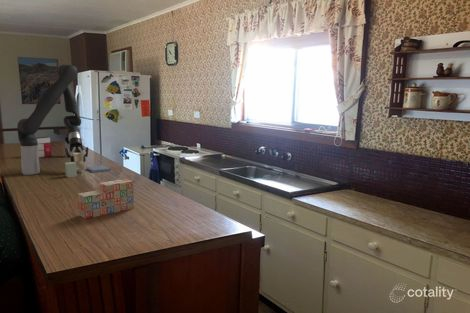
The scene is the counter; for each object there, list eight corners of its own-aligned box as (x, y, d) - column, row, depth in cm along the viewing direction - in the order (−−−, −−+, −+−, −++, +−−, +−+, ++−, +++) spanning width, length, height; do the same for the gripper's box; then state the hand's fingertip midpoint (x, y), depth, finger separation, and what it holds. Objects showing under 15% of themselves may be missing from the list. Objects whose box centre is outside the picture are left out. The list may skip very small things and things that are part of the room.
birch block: (75, 170, 231) (74, 154, 229) (72, 168, 235) (72, 152, 233) (83, 169, 234) (83, 153, 232) (81, 168, 238) (80, 152, 236)
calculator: (37, 158, 283) (36, 138, 281) (35, 157, 286) (33, 137, 284) (52, 156, 292) (50, 137, 290) (49, 155, 295) (48, 136, 292)
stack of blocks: (85, 219, 149) (83, 189, 147) (78, 215, 154) (77, 186, 152) (134, 208, 164) (133, 180, 162) (127, 205, 168) (126, 178, 166)
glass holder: (65, 156, 294) (63, 136, 292) (84, 155, 300) (83, 136, 297) (65, 157, 286) (64, 138, 284) (85, 156, 292) (84, 137, 290)
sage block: (68, 177, 221) (67, 164, 220) (65, 176, 225) (64, 162, 223) (76, 176, 224) (76, 163, 223) (74, 175, 228) (73, 161, 227)
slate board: (93, 172, 234) (93, 170, 234) (86, 169, 244) (86, 167, 244) (110, 170, 241) (110, 168, 241) (103, 167, 251) (103, 165, 251)
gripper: (63, 137, 234) (66, 159, 226) (87, 136, 241) (91, 157, 233) (62, 144, 240) (65, 166, 231) (86, 143, 247) (90, 164, 238)
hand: (78, 161), depth 232 cm, fingers closed on birch block, 5 cm apart
